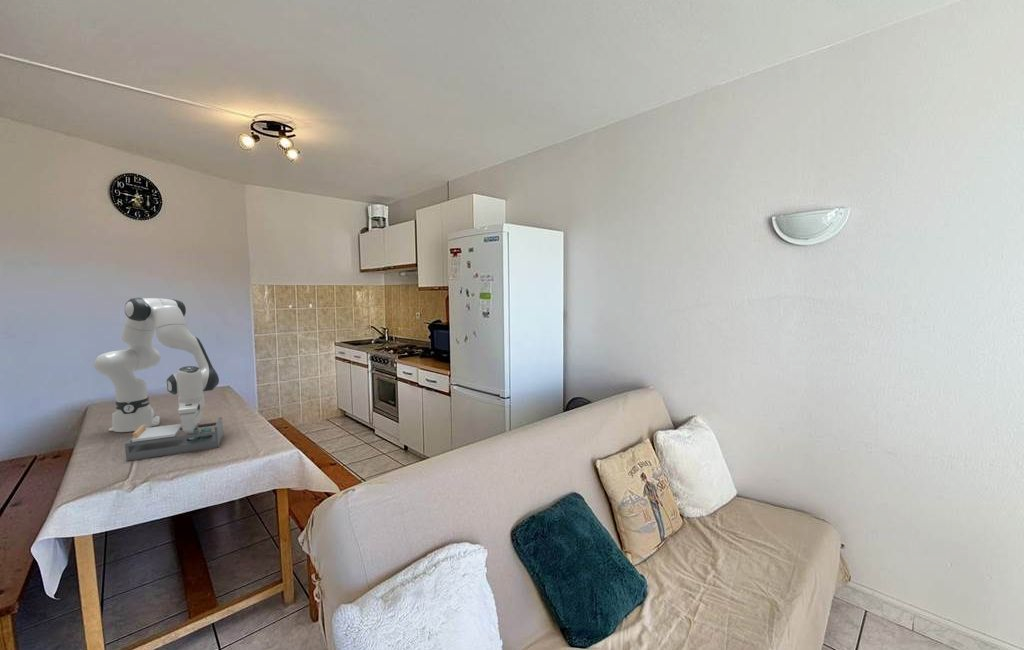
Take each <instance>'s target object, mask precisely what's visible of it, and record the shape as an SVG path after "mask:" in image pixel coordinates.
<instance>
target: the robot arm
mask: <svg viewBox="0 0 1024 650" xmlns="http://www.w3.org/2000/svg"><path fill="white" fill-rule="evenodd" d="M186 309H187V308H186V305H185V304H184V303H183V301H181V300H177V299H171V298H170V299H169V298H161V297H149V298H148V297H144V298H143V297H133V298H130V299H128V300H127V301H126V303H125V306H124V314H125V316H126V319H125V322H124V325H123V328H122V331H121V334H120V338H121V340H122V341H123V342H124V343H125V344H128V345H129V347H128V348H126V349H120V350H111V351H109V352H108V351H107V352H103V353H102V354H99V355H97V356H96V358H95V360H94V368H95V370H96V371H97V372H98V373H100V374H101V375H103V376H106V377H107V378H109V379H110V382H111V383H112V384H113V385H114V390H115V398H116V401H115V405H114V406H115V411H114V412H112V416H111V417H112V421H111V422H112V426H111V427H109V428H108V432H115V433H128V432H129V433H131V432H135V431H136V430H137V429H138V428H139V427H140V426H141V425H145V424H146V428H151V427H157V426H159V425H160V422H161V416H159V415H155V411H154V408H153V407H152V406H151V405H150V397H149V395H148V389H147V383H146V381H145V380H143V379H141V378H137V377H136V376H135V375H134V372H137V371H142V370H148V369H151V368H152V367H155V366H157V365H159V364H160V361H161V353H160V352H159V351H158V349H157V348H155V347H154V346H153V337H154V334H156V337H157V339H158V341H159V342H160V344H162V345H163V346H165V347H167V348H171V349H175V350H181V351H185V352H188V353H190V354H191V355H192V356H193V358H194V359H195V362H196V364H197V366H196V365H195V366H193V365H188V366H183V367H180V368H179V369H177V372H176V373H173V374H172V373H171V375H169V377H167V379H166V389H167V392H168V393H170V394H172V395H174V396H176V395H178V398H177V401H178V402H177V403H178V409H177V414H179V416H180V417H179V418H180V424H181V425H182V429H183V430H182V431H183V433H187V434H186V435H189V434H194V430H196V429H197V430H199V428H198V427H199V424H200V421H201V420H202V418H203V411H202V409H203V408H204V407H206V406H205V395H204V392H208V391H209V392H210V391H213V390H215V388H216V387H217V386H218V385H219V383H220V379H219V374H218V372H217V371H216V370H215V367H214V366H213V365H212V362H211V360H210V358H209V356H208V354H207V352H206V349H205V347H204V345H203V343H202V341H201V340H200V338H198V337H196V336H194V335H193V334H192V333H191V332H190V330H189V329H188V324H187V322H186V318H185V316H186V312H187V310H186ZM188 439H194V437H193V438H188Z"/></svg>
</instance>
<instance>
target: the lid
mask: <svg viewBox="0 0 1024 650" xmlns="http://www.w3.org/2000/svg"><path fill="white" fill-rule="evenodd" d="M181 428H182V425H181V423H178V424H169V425H160V426H159V425H158V426H152V427H149V428H146V424H145V425H141V426H140V427H139V428H138V429H137V430H136V431H133V433H132V436H133V439H132V442H136V441H144V440H151V439H159V438H166V437H174V436H178V433H179V432H180V431H181V430H180V429H181Z"/></svg>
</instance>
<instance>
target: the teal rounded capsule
mask: <svg viewBox="0 0 1024 650" xmlns="http://www.w3.org/2000/svg"><path fill="white" fill-rule="evenodd" d="M197 433H200V431H199V430H197V429H196V430H194V434H197ZM192 440H199V437H194V439H189V441H192Z"/></svg>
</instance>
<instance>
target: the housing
mask: <svg viewBox="0 0 1024 650" xmlns="http://www.w3.org/2000/svg"><path fill="white" fill-rule="evenodd" d="M212 427H213V428H214V430H212ZM199 428H202V429H201V430H200V432H199V433H197V434H189V435H188V434H181V435H176V436H174V437H166V438H159V439H151V440H144V441H136V442H132V439H133V435H132V436H131V437H130V438H129V439H128V440H127V441H126V442H125V443H124V448H125V461H128V462H129V461H134V460H141V459H147V458H148V459H149V458H154V457H160V456H161V457H162V456H166V455H167V456H168V455H176V454H182V453H188V452H194V451H202V450H209V449H215V448H220V445H221V443H222V440H223V438H224V430H223V428H224V427H223V417H218V419H217V421H216V422H209V423H208V422H207V423H199V427H198V429H199ZM180 431H183V429H182V428H181V429H180ZM193 437H199V440H192V441H189V439H188V438H193Z"/></svg>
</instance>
